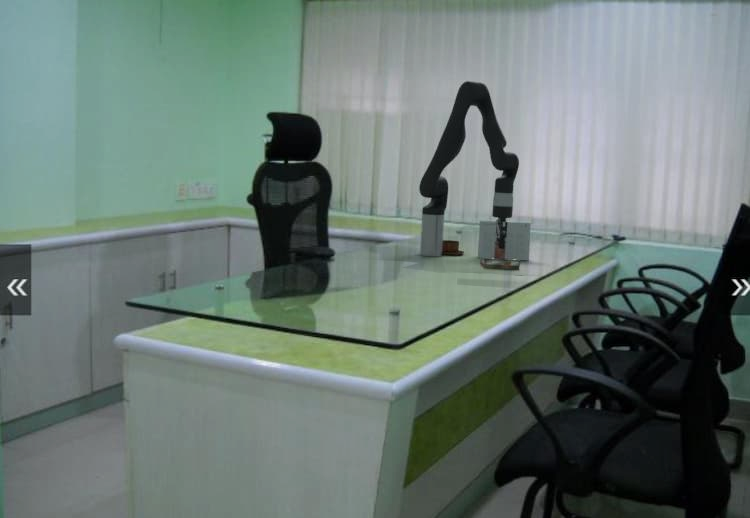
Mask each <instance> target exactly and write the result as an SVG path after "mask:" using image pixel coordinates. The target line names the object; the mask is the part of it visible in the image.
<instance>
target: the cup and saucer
mask: <svg viewBox="0 0 750 518" xmlns="http://www.w3.org/2000/svg"><path fill="white" fill-rule="evenodd" d="M459 247H460V241H458V240H446V239H445V240H444V239H443V248H442V256H454V257H457V256H463V255H464V254H465V251H463V250H459Z"/></svg>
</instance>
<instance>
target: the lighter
mask: <svg viewBox="0 0 750 518" xmlns="http://www.w3.org/2000/svg"><path fill="white" fill-rule="evenodd" d="M506 242H507V241H505V248H504V249H499V235H498V236H497V241H495V252H494V259H505V249H506Z"/></svg>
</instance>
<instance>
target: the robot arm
mask: <svg viewBox="0 0 750 518" xmlns="http://www.w3.org/2000/svg"><path fill="white" fill-rule="evenodd" d="M471 106H473V107H476V108H477V110H478V111H479V112H480V114H481V120H482V124H481V125H482V127H481V129H482V130H481V131H482V135H483V138H484V140H485V142H486V144H487V146H488V148H489V149H488V150H489V155H490V156H489V157H490V161H491V164H492V166H493V167H494V169H495V170H498V171H499V172H502V173H501V176H498V177H496V179H495V180H494V192H493V193H494V194H493V200H492V213H491V214H492V217H493V218H497V219H496V220H495V221H496V233H495V234H496V241H497V236H498V235H499V249H504V248H505V239H506V237H507V225H508V223H507V222H508V221H507V219H511V218H513V209H514V183H515V180H516V177H517V175H518V174H517V173H518V171H519V165H520V160H519V159H520V158H519V157H518V155H517V154H516V153H514V152H510V151H509V152H507V151H505V150H504V149H505V148H506V147H507V139H506V137H505V135H504V133H503V131H502V128H501V126H500V124H499V122H498V121H499V120H498V119H497V115H496V112H495V109H494V108H495V107H494V105H493V101H492V97H491V93H490V91H489V89H488V87H487V85H486V84H485V83H483V82H480V81H479V82H478V81H472V80H471V81H470V80H466V81H464V82H463V83H461V85H460V86H459V89H458V90H457V93H456V97H455V99H454V104H453V106H452V110H451V113H450V114H449V117H448V120H447V123H446V125H445V127H444V130H443V133H442V135H441V137H440V140H439V142H438V144H437V147H436V149H435V152H434V155H433V156H432V158H431V160H430V162H429V164H428V166H427V168H426V170H425V171H424V173H423V176H422V177H421V180H420V182H419V188H418V189H419V190H418V191H419V193H420V196H421V197H423V198H426V199H430V202H429V203H428V204H427V205H424V206H423V207H422V211H421V212H422V214H421V231H420V245H419V247H420V248H419V256H425V257H442V256H443V255H442V248H443V240H444V227H445V212H446V210H447V206H448V198H449V197H448V196H449V182H448V180H447V178H446V177H445V176H442V175H441V174H442V173H443V171H445V169H446V168H447V166H448V165H449V164H450V163H451V162H452V161H454V160H455V159H456V158H457V156H459V154H460V152H461V150H462V149H463V148H462V147H463V145H464V143H465V141H466V137H467V136H466V135H467V134H466V133H467V131H466V116H467V115H468V112H469V109H470V107H471Z"/></svg>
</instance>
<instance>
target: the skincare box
mask: <svg viewBox="0 0 750 518" xmlns="http://www.w3.org/2000/svg"><path fill="white" fill-rule="evenodd" d="M506 222H507V223H508V225H507V237H506V239H505V241H507V242H506V249H505V259H516V260H526V261H525V262H529V261H530V242H531V224H532V223H531V222H523V221H522V222H519V221H506ZM495 233H496V220H479V227H478V245H477V251H478V252H477V258H478V259H485V258H494V252H495V241H496V234H495Z"/></svg>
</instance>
